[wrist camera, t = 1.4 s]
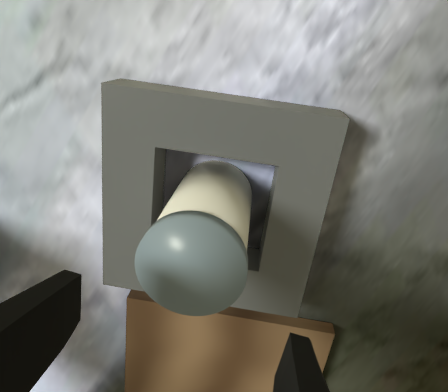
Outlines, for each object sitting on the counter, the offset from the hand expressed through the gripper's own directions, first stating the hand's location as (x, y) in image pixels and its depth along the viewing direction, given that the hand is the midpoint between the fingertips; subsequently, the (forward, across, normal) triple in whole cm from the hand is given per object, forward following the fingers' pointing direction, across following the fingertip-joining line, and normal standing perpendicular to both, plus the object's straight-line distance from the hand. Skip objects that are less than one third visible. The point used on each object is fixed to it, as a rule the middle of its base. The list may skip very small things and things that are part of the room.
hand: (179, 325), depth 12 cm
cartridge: (+11, +1, 0) cm, 11 cm away
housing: (+11, +1, 0) cm, 11 cm away
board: (+11, -2, +13) cm, 17 cm away
